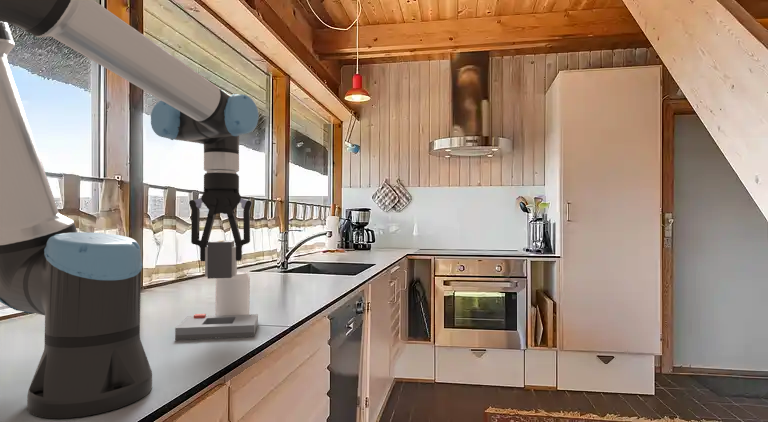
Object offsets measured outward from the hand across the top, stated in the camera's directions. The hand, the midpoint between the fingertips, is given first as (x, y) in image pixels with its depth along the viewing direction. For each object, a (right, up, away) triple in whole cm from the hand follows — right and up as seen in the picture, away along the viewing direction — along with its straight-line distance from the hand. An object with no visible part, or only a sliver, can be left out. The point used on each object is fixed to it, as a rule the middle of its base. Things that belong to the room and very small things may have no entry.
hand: (221, 275), depth 103 cm
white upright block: (-1, -13, +10) cm, 17 cm away
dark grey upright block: (0, 0, 0) cm, 0 cm away
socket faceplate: (0, -13, 0) cm, 13 cm away
